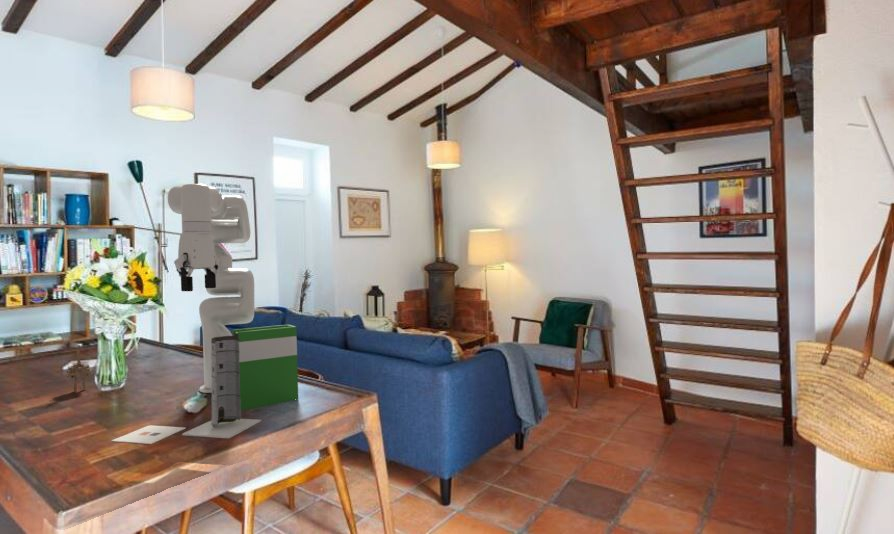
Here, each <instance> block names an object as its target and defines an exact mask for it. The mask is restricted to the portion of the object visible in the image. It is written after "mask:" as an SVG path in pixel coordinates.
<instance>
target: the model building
mask: <svg viewBox="0 0 894 534" xmlns="http://www.w3.org/2000/svg"><path fill="white" fill-rule="evenodd" d="M234 335H235V336H233V335H232V336H222V337H215V338H212V339H211V340H212V342H211V344H212V345H211V351H212V353H211V359H212V362H211V368H212V369H211V370H212V375H211V376H212V393H211V399H210V400H211V420H212V422H211V425H212V426H213V427H215V428H217V426H218V423H222V422H234V421H236V420H237V419H238V420H240V419H242V411H241V403H240V402H241V396H240V385H239V384H240V372H239V359H240V358H239V356H240V355H239V352H240V351H239V338H238V334H237V333H234Z"/></svg>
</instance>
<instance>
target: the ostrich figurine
mask: <svg viewBox="0 0 894 534" xmlns="http://www.w3.org/2000/svg"><path fill="white" fill-rule="evenodd" d="M81 349H82V348H81V344H77V345H76V357H77V358H76V359H77V360H76V361H77V362H74V363H73V365H70V366H67V371H66V372H65V374H66V377H69V379H73V380H72V382H73V383H72V384H73V385H72V387H73V388H72V389H73V393H76V392H78V391H77V390H78V389H77V386H78V385H77V384H78V381H77V380H78V378H81V384H82V386H81V387H82V391H86V390H87V389H86V380H87V379H86V378H87V377H88V376H89V375H91V374H92V372H93V371H92V369H91V368H90V365H89V364H85V363H84V362H83V361H82V362H81Z"/></svg>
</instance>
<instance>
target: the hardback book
mask: <svg viewBox="0 0 894 534" xmlns="http://www.w3.org/2000/svg"><path fill="white" fill-rule="evenodd" d="M231 331H232V333H231V334H232V336H235V335H234V333H237V334H238V338H239V351H240V352H239V355H240V356H239V358H240V359H239V372H240V384H239V385H240V396H241V402H240V403H241V412H243V411H246V410H253V409H259V408H263V407H268V406H273V405H278V404H283V402H284V403H288V402H287V401H290V402H292V401H291V400H295V399H298V400H299V375H298V373H299V372H298V368H299V367H298V344H297V343H298V342H297V341H298V340H297V337H298V336H297V335H298V334H297V332H298V331H297V326H296V325H292V324H280V325H270V326H260V327H259V326H257V327H247V328H235V329H232V330H231ZM295 401H296V400H295ZM242 410H243V411H242Z"/></svg>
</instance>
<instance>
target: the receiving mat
mask: <svg viewBox="0 0 894 534" xmlns="http://www.w3.org/2000/svg"><path fill="white" fill-rule="evenodd" d="M211 422H212V419H211V420H209V421H207V422H205V423H203V424H200V425H199V426H196V427H194V428H191V429H189V430H187V431H185V432H183V433H181V436H186V437H187V436H188V437H200V438H201V437H203V438H214V439H215V438H216V439H231V438H233V437H235V436H236V435H239V434H240V433H242V432H244V431H246V430H247V429H249V428H251V427H253V426H255V425H257V424H258V423H261V422H262V419H253V418H252V419H251V418H241V419H240V420H238V419H237V420H236V421H234V422H222V423H218V426H217V428H215V427H213V426H212V425H211Z"/></svg>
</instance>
